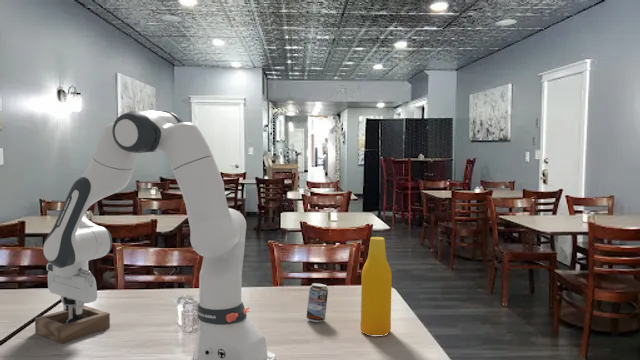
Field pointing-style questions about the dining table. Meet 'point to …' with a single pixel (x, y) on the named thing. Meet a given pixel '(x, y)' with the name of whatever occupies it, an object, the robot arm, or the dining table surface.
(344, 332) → the dining table surface
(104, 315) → the wooden tray
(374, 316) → the beer bottle
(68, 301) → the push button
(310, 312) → the beverage can
